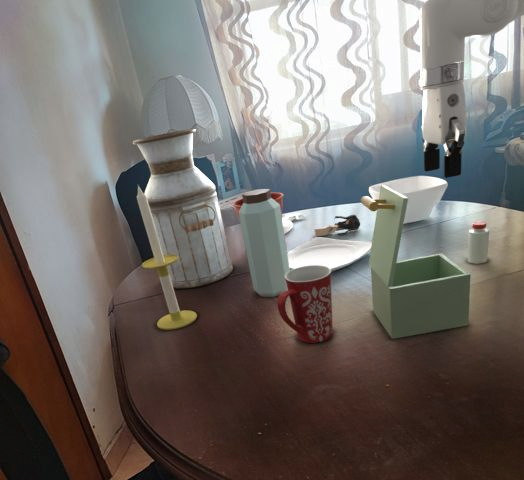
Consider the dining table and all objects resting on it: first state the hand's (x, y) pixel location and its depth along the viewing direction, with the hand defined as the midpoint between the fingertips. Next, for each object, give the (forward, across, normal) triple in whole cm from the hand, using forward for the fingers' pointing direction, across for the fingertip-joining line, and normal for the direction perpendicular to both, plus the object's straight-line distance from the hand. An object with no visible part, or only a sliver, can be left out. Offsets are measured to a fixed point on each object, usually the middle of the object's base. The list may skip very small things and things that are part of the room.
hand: (441, 173), depth 94 cm
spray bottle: (+24, +77, +27) cm, 85 cm away
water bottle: (+24, +16, +37) cm, 47 cm away
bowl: (+24, +55, -12) cm, 61 cm away
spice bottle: (+24, +10, -13) cm, 30 cm away
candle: (+24, +9, +62) cm, 67 cm away
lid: (+6, -14, +16) cm, 22 cm away
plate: (+24, +32, +21) cm, 45 cm away
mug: (+24, -14, +33) cm, 43 cm away
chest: (+24, -14, +11) cm, 30 cm away
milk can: (+24, +41, +58) cm, 75 cm away
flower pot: (+24, +55, +36) cm, 70 cm away
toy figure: (+24, +56, +11) cm, 62 cm away
